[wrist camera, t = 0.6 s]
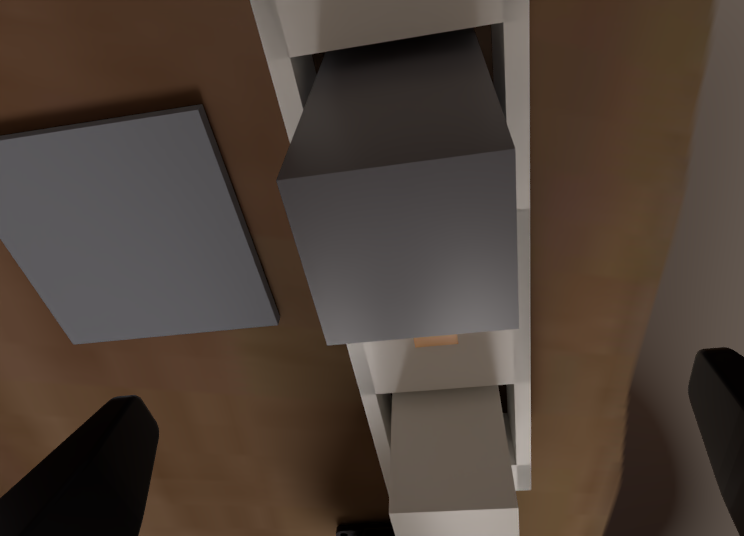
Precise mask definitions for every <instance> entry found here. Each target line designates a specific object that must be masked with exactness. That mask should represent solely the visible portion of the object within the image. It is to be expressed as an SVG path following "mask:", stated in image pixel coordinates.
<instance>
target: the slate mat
mask: <svg viewBox="0 0 744 536" xmlns="http://www.w3.org/2000/svg"><path fill="white" fill-rule="evenodd" d="M0 239H1V240H2V242H3V243H4V245H5V246H6V248H7V249H8V250H9V252H10V253H11V255H12V256H13V258H14V259H15V261H16V262H17V263H18V265H19V266H20V268H21V269H22V271H23V272H24V274H25V275H26V276H27V278H28V279H29V281H30V282H31V284H32V285H33V287H34V288H35V290H36V291H37V292H38V294H39V295H40V297H41V298H42V300H43V301H44V303H45V304H46V305H47V307H48V308H49V310H50V311H51V313H52V314H53V316H54V317H55V318H56V320H57V321H58V323H59V324H60V326H61V327H62V329H63V330H64V332H65V333H66V334H67V336H68V337H69V339H70V340H71V342H72V343H73V344H83V343H94V342H104V341H115V340H125V339H136V338H147V337H157V336H168V335H178V334H189V333H199V332H210V331H220V330H231V329H242V328H252V327H263V326H273V325H278V323H279V320H280V316H279V313H278V310H277V308H276V305H275V302H274V299H273V297H272V294H271V291H270V288H269V286H268V283H267V280H266V277H265V275H264V272H263V269H262V266H261V264H260V261H259V258H258V256H257V253H256V250H255V247H254V245H253V242H252V239H251V236H250V234H249V231H248V228H247V225H246V223H245V220H244V217H243V214H242V212H241V209H240V206H239V203H238V201H237V198H236V195H235V193H234V190H233V187H232V184H231V182H230V179H229V176H228V173H227V171H226V168H225V165H224V162H223V160H222V157H221V154H220V151H219V149H218V146H217V143H216V140H215V138H214V135H213V132H212V130H211V127H210V124H209V121H208V119H207V116H206V113H205V110H204V108H203V105H202V104H200V105H194V106H187V107H181V108H175V109H168V110H162V111H155V112H149V113H143V114H136V115H130V116H124V117H117V118H111V119H104V120H98V121H92V122H85V123H79V124H73V125H66V126H60V127H53V128H47V129H41V130H34V131H28V132H22V133H15V134H9V135H2V136H0Z"/></svg>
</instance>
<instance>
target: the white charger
mask: <svg viewBox="0 0 744 536" xmlns="http://www.w3.org/2000/svg"><path fill="white" fill-rule="evenodd" d="M389 516H390V519H391V523H392V526H393V530H394V533H395V536H519V514H518V503H517V497H516V491H515V485H514V479H513V473H512V467H511V461H510V455H509V448H508V442H507V436H506V430H505V424H504V418H503V412H502V406H501V400H500V394H499V388H498V385H493V386H480V387H466V388H453V389H439V390H426V391H412V392H399V393H392V419H391V454H390V489H389Z"/></svg>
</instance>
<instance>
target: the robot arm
mask: <svg viewBox="0 0 744 536" xmlns="http://www.w3.org/2000/svg"><path fill="white" fill-rule="evenodd" d="M688 394H689V399H690V403H691V406H692V409H693V412H694V414H695V418H696V421H697V424H698V427H699V430H700V432H701V435H702V439H703V442H704V445H705V448H706V451H707V454H708V457H709V460H710V463H711V466H712V469H713V472H714V475H715V478H716V481H717V484H718V486H719V489H720V492H721V495H722V497H723V499H724V502H725V504H726V506H727V508H728V511H729V513H730V515H731V518H732V520H733V522H734V524H735V526H736V528H737V531H738V532H739V535H740V536H744V357H743V356H742V355H740V354H738V353H737V352H735V351H734V350H732V349H729V348H725V347H722V348H710V349H702V350H699V351H698V353H697V354H696V357H695V360H694V364H693V368H692V372H691V376H690V380H689V385H688ZM158 439H159V428H158V425H157V422H156V421H155V419H154V418H153V416H152V415H151V413H150V411H149V410H148V408H147V407H146V405H145V404H144V402H143V401H142V399H141V398H140V397H138V396H136V395H130V396H118V397H114V398H112V399H111V400H109V401H108V402H107V403H106V404H105V405H104V406H103V407H101V408H100V409H99V410H98V411H97V412H96V413H95V414H94V415H93V416H91V417H90V418H89V419H88V420H87V421H86V422H85V423H84V424H82V425H81V426H80V427H79V428H78V429H77V430H76V431H75V432H74V433H72V434H71V435H70V436H69V437H68V438H67V439H66V440H65V441H64V442H62V443H61V444H60V445H59V446H58V447H57V448H56V449H55V450H53V451H52V452H51V453H50V454H49V455H48V456H47V457H46V458H45V459H43V460H42V461H41V462H40V463H39V464H38V465H37V466H36V467H35V468H33V469H32V470H31V471H30V472H29V473H28V474H27V475H26V476H24V477H23V478H22V479H21V480H20V481H19V482H18V483H17V484H16V485H14V486H13V487H12V488H11V489H10V490H9V491H8V492H7V493H6V494H4V495H3V496H2V497H1V498H0V536H138V535H139V531H140V527H141V524H142V520H143V515H144V511H145V506H146V501H147V496H148V491H149V486H150V480H151V475H152V470H153V465H154V460H155V455H156V450H157V444H158ZM336 536H395V533H394V530H393V526H392V523H379V524H354V525H340V526H338V527H337V531H336Z"/></svg>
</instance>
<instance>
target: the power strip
mask: <svg viewBox="0 0 744 536" xmlns="http://www.w3.org/2000/svg"><path fill="white" fill-rule="evenodd" d="M250 3H251V6H252V10H253V13H254V17H255V20H256V24H257V28H258V31H259V35H260V38H261V42H262V45H263V49H264V53H265V56H266V60H267V63H268V67H269V70H270V74H271V77H272V81H273V85H274V88H275V92H276V95H277V99H278V102H279V106H280V110H281V113H282V117H283V120H284V124H285V127H286V131H287V135H288V138H289V142H290V143H291V141H292V138H293V136H294V133H295V130H296V128H297V125H298V123H299V120H300V117H301V115H302V112H303V110H304V107H305V104H306V102H307V99H308V97H309V94H310V91H311V89H312V86H313V84H314V81H315V78H316V76H317V74H316V70H315V66H314V61H313V57H312V54H315V53H321V52H327V51H333V50H339V49H345V48H351V47H357V46H363V45H369V44H375V43H381V42H387V41H393V40H399V39H406V38H412V37H418V36H424V35H430V34H436V33H442V32H448V31H454V30H460V29H466V28H472V27H478V26H484V25H490V24H491V36H492V60H493V83H494V89H495V91H496V94H497V97H498V100H499V103H500V106H501V109H502V112H503V114H504V117H505V120H506V123H507V126H508V129H509V132H510V135H511V137H512V140H513V143H514V146H515V154H516V203H517V253H518V302H519V329H510V330H499V331H487V332H476V333H464V334H453V335H442V336H430V337H419V338H407V339H396V340H385V341H373V342H362V343H350V344H346V345H347V349H348V352H349V356H350V359H351V363H352V366H353V370H354V373H355V377H356V381H357V384H358V388H359V391H360V395H361V398H362V402H363V406H364V409H365V413H366V416H367V420H368V423H369V427H370V431H371V434H372V438H373V441H374V445H375V448H376V452H377V456H378V459H379V463H380V466H381V470H382V473H383V477H384V480H385V484H386V488H387V491H388V495H389V489H390V454H391V419H392V399H391V394H390V393H399V392H412V391H426V390H439V389H453V388H466V387H480V386H493V385H506V389H507V413H503V418H504V424H505V430H506V436H507V442H508V448H509V455H510V461H511V467H512V473H513V479H514V485H515V491H518V490H531V338H530V53H529V0H250Z"/></svg>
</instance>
